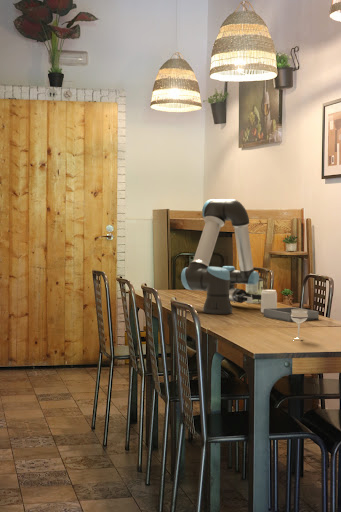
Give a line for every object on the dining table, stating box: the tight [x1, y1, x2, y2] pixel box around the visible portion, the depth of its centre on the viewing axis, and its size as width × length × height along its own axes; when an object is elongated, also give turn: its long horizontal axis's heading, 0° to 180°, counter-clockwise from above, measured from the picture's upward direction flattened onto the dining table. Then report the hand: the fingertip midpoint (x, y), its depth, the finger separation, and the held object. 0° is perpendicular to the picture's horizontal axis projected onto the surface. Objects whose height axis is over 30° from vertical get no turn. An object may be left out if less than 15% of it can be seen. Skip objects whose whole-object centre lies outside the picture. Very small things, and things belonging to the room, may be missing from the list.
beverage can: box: [260, 289, 278, 314], centre depth 372 cm, size 8×8×12 cm
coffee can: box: [245, 277, 264, 304], centre depth 422 cm, size 10×10×14 cm
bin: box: [263, 306, 319, 323], centre depth 354 cm, size 19×19×4 cm
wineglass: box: [291, 308, 309, 339], centre depth 287 cm, size 7×7×12 cm
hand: (262, 299), depth 378 cm, fingers open, 13 cm apart
